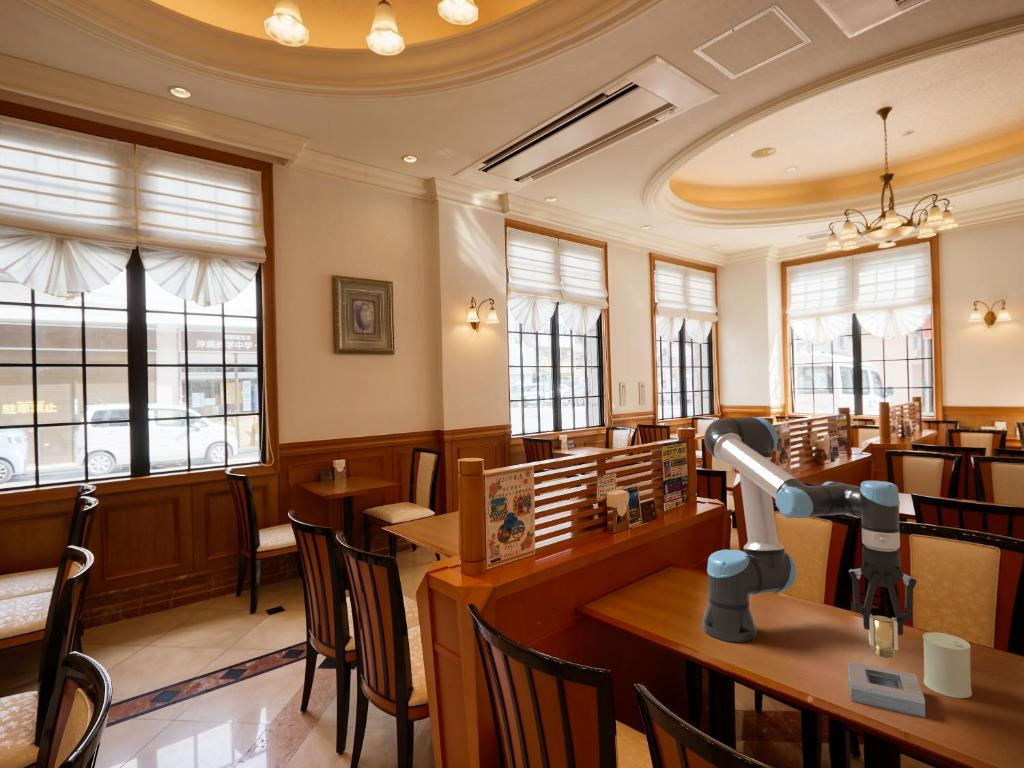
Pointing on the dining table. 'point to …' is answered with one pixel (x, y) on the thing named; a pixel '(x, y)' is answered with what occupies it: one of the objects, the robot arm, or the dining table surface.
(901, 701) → the block
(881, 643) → the golden yellow cylinder
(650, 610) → the dining table surface
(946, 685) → the can
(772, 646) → the dining table surface
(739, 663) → the dining table surface
